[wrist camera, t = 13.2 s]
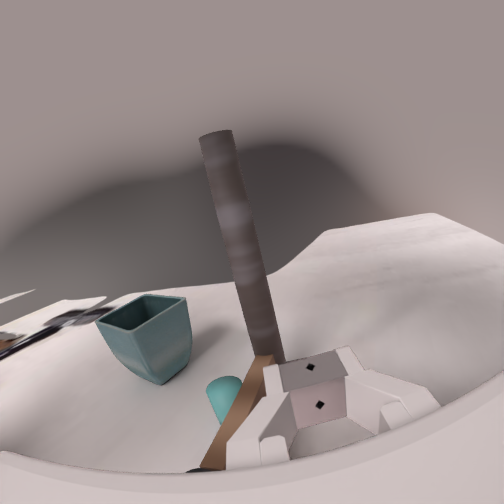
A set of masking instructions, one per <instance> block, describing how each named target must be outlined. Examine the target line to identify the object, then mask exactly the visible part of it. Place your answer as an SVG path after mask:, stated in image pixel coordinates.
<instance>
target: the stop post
mask: <svg viewBox="0 0 504 504" xmlns="http://www.w3.org/2000/svg"><path fill="white" fill-rule="evenodd" d="M241 386H242V381H241V380H240V379H239V378H237V377H234V376H224V377H220V378H218V379H216V380H214V381H212V382H211V383H210V384H209V385H208V387H207V389H206V393H207V395H208V398H209V400H210V402H211V405H212V407H213V409H214V411H215V414H216V416H217V418H218V420H219V422H220V425H222V423H223V421H224V419H225V417H226V415H227V413H228V411H229V409H230V407H231V405H232V403H233V401H234V400H235V398H236V396H237V394H238V392H239V390H240V388H241Z"/></svg>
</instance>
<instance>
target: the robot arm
mask: <svg viewBox="0 0 504 504" xmlns="http://www.w3.org/2000/svg"><path fill="white" fill-rule="evenodd" d="M278 366H279V367H278ZM279 370H280V371H279ZM263 373H264V380H265V387H266V395H267V396H266V397H262V399H261V400H260V401H259V403H258V404H257V405H256V407H255V408H254V409H253V410H252V412H251V413H250V414H249V416H248V417H247V418H246V419H245V421H244V422H243V423H242V424H241V426H240V427H239V428H238V429H237V431H236V432H235V433H234V434H233V436H232V437H231V438H230V439H229V440H228V442H227V447H226V470H223V471H212V472H197V473H131V472H117V471H106V470H97V469H89V468H82V467H75V466H69V465H64V464H58V463H53V462H49V461H44V460H40V459H36V458H32V457H28V456H24V455H21V454H17V453H14V452H11V451H1V452H0V504H504V370H503V371H502V372H500V373H499V374H497V375H496V376H494V377H493V378H491V379H490V380H488V381H487V382H485V383H483V384H482V385H480V386H478V387H477V388H475V389H474V390H472V391H470V392H468V393H467V394H465V395H463V396H461V397H460V398H458V399H456V400H454V401H452V402H450V403H449V404H447V405H445V406H443V407H441V405H440V404H439V403H438V402H437V400H436V399H435V398H434V397H433V395H432V394H431V393H430V392H429V391H428V389H427V388H426V387H423V386H420V385H417V384H414V383H410V382H407V381H404V380H401V379H398V378H395V377H391V376H388V375H385V374H382V373H379V372H376V371H373V370H370V369H367V370H365V369H364V368H363V366H362V365H361V363H360V362H359V360H358V359H357V357H356V356H355V354H354V353H353V351H352V350H351V348H350V347H349V346H348V345H347V346H344V347H341V348H337V349H334V350H332V351H329V352H325V353H322V354H318V355H315V356H311V357H306V358H302V359H297V360H293V361H288V362H284V363H279V364H274V365H270V366H265V367H263ZM281 379H282V380H281ZM346 416H347V418H349V419H350V420H352V421H354V422H355V423H357V424H358V425H360V426H362V427H363V428H365V429H367V430H368V431H370V432H372V433H373V434H375V435H376V436H373V437H370V438H368V439H365V440H362V441H359V442H356V443H353V444H350V445H346V446H343V447H340V448H336V449H333V450H329V451H326V452H322V453H318V454H314V455H310V456H306V457H302V458H298V459H293V460H290V456H289V452H288V450H289V448H290V446H291V444H292V442H293V440H294V438H295V436H296V434H297V431H298V429H302V428H306V427H309V426H313V425H317V424H320V423H324V422H328V421H332V420H335V419H339V418H343V417H346Z"/></svg>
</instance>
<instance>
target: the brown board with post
mask: <svg viewBox="0 0 504 504" xmlns="http://www.w3.org/2000/svg"><path fill="white" fill-rule="evenodd" d="M199 142H200V145H201V150H202V154H203V158H204V163H205V167H206V170H207V175H208V179H209V183H210V187H211V191H212V196H213V200H214V204H215V208H216V212H217V216H218V220H219V224H220V227H221V231H222V235H223V239H224V243H225V247H226V251H227V255H228V258H229V262H230V266H231V270H232V274H233V277H234V281H235V285H236V289H237V293H238V296H239V300H240V304H241V307H242V311H243V315H244V318H245V322H246V326H247V329H248V333H249V336H250V340H251V343H252V347H253V351H254V354H255V359H254V361H253V363H252V365H251V367H250V369H249V371H248V373H247V375H246V377H245V379H244V381H243V384H242V386H241V388H240V390H239V392H238V394H237V396H236V398H235V400H234V401H233V403H232V405H231V407H230V409H229V411H228V413H227V415H226V417H225V419H224V421H223V423H222V425H221V427H220V429H219V431H218V433H217V434H216V436H215V438H214V440H213V442H212V444H211V446H210V448H209V449H208V451H207V453H206V455H205V457H204V459H203V460H202V462H201V464H200V468H204V469H208V470H211V471H223V470H226V447H227V442H228V440H229V439H230V438H231V437H232V436H233V434H234V433H235V432H236V431H237V429H238V428H239V427H240V426H241V424H242V423H243V422H244V421H245V419H246V418H247V417H248V416H249V414H250V413H251V412H252V410H253V409H254V408H255V407H256V405H257V404H258V403H259V401H260V400H261V399H262V397H266V396H267V395H266V387H265V380H264V373H263V367H265V366H270V365H274V364H279V363H284V362H286V360H285V356H284V351H283V347H282V343H281V338H280V334H279V329H278V325H277V321H276V316H275V312H274V308H273V303H272V299H271V294H270V290H269V286H268V281H267V277H266V273H265V269H264V264H263V260H262V256H261V252H260V247H259V243H258V239H257V234H256V230H255V226H254V222H253V217H252V213H251V209H250V205H249V200H248V196H247V193H246V188H245V184H244V180H243V175H242V171H241V167H240V163H239V159H238V155H237V150H236V146H235V142H234V138H233V134H232V130H222V131H217V132H213V133H209V134H206V135H204V136H202V137H200V138H199ZM278 367H279V366H278ZM279 371H280V370H279ZM281 380H282V379H281Z"/></svg>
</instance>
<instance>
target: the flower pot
mask: <svg viewBox="0 0 504 504" xmlns="http://www.w3.org/2000/svg"><path fill="white" fill-rule="evenodd" d="M95 323H96V325H97V327H98V329H99V331H100V332H101V334H102V336H103V338H104V339H105V341H106V343H107V344H108V346H109V348H110V349H111V351H112V352H113V354H114V355H115V356H116V358H117V359H118V360H119V361H120V362H121V363H122V364H123V365H124V366H125V367H127V368H128V369H129V370H130V371H132V372H133V373H135V374H136V375H138V376H139V377H142V378H144V379H146V380H148V381H151V382H153V383H155V384H158V385H162V384H164V383H165V382H166V381H167V380H169V379H170V378H171V377H172V376H173V375H175V374H176V373H177V372H179V371H180V370H181V369H182V368H184V367H185V366H186V365H187V363H188V360H189V357H190V353H191V348H192V330H191V324H190V318H189V313H188V307H187V302H186V298H185V297H175V296H174V297H173V296H162V295H152V294H144V295H142V296H140V297H138V298H136V299H134V300H133V301H131V302H129V303H127V304H125V305H123V306H122V307H120V308H118V309H116V310H114V311H112V312H110V313H108V314H107V315H105V316H103V317H101V318H99V319H98V320H96V321H95Z"/></svg>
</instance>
